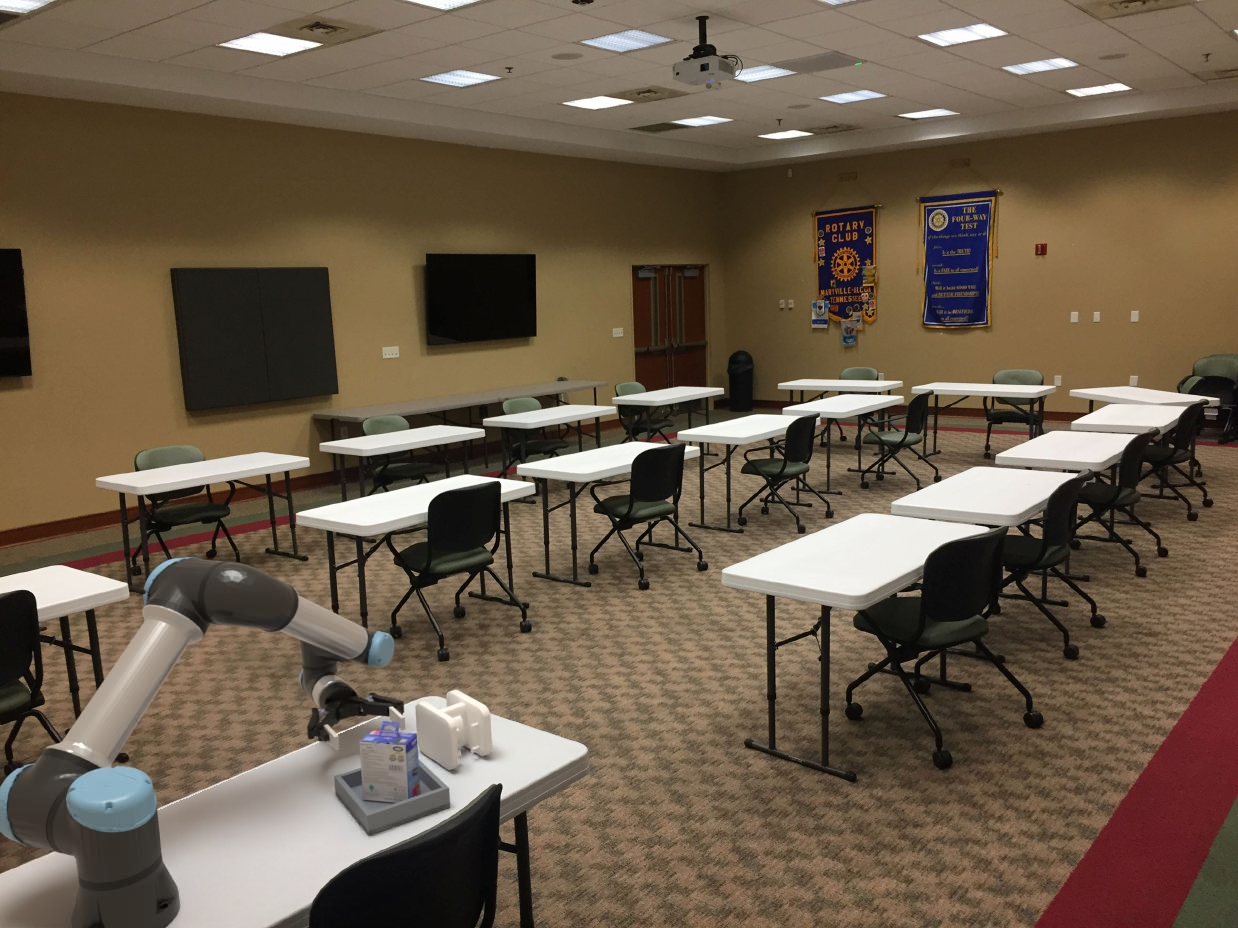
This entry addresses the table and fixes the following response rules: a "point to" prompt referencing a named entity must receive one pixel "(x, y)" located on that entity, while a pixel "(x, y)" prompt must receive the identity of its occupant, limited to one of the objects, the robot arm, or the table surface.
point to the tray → (389, 814)
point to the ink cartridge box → (389, 765)
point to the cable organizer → (453, 729)
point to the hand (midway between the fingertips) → (370, 733)
